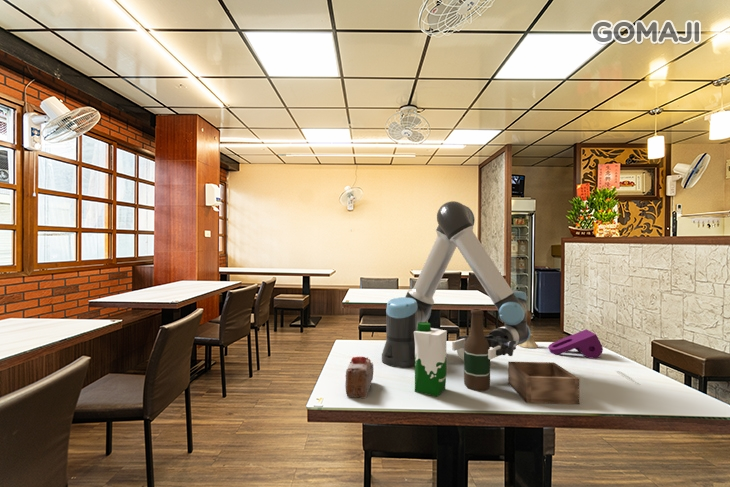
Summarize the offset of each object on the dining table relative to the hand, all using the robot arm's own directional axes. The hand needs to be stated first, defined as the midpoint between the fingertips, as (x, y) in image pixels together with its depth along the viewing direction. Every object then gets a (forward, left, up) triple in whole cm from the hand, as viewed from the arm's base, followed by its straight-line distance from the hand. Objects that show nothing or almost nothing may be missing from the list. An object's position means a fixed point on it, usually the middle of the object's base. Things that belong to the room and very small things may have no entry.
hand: (470, 350), depth 110 cm
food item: (-34, -1, -12) cm, 36 cm away
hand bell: (+39, +53, -12) cm, 67 cm away
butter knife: (+56, +7, -13) cm, 57 cm away
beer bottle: (+3, +3, -12) cm, 13 cm away
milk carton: (-12, -1, -12) cm, 17 cm away
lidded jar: (+7, +28, -12) cm, 32 cm away
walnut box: (+21, -1, -12) cm, 24 cm away
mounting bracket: (+52, +42, -12) cm, 68 cm away
